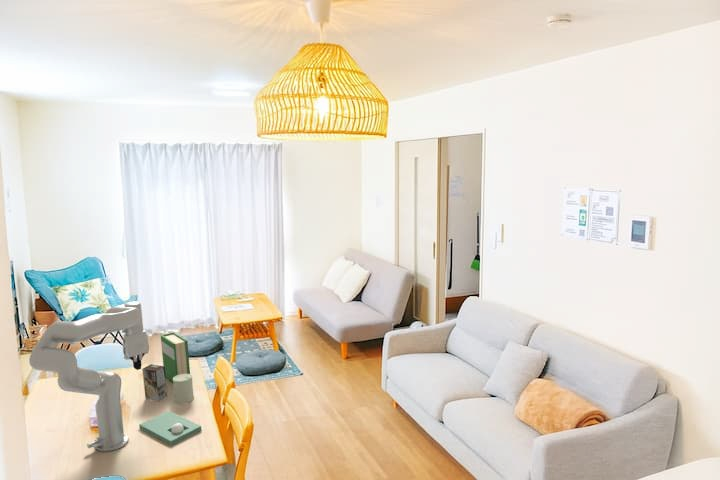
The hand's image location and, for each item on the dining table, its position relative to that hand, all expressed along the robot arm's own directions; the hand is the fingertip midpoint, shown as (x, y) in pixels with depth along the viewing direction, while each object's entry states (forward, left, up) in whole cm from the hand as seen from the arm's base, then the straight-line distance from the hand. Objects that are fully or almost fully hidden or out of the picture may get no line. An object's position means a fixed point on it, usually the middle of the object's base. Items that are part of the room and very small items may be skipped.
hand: (137, 368), depth 239 cm
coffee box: (+16, +15, -25) cm, 34 cm away
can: (+23, +2, -25) cm, 34 cm away
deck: (+2, -18, -25) cm, 31 cm away
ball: (+2, -25, -22) cm, 33 cm away
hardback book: (+35, +24, -25) cm, 49 cm away
